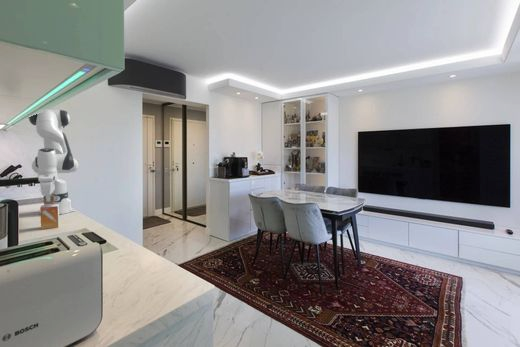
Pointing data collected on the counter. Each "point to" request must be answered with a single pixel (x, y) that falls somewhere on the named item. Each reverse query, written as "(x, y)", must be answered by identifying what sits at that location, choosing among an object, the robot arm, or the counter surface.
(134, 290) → the counter surface
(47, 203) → the walnut cube
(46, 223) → the small box
